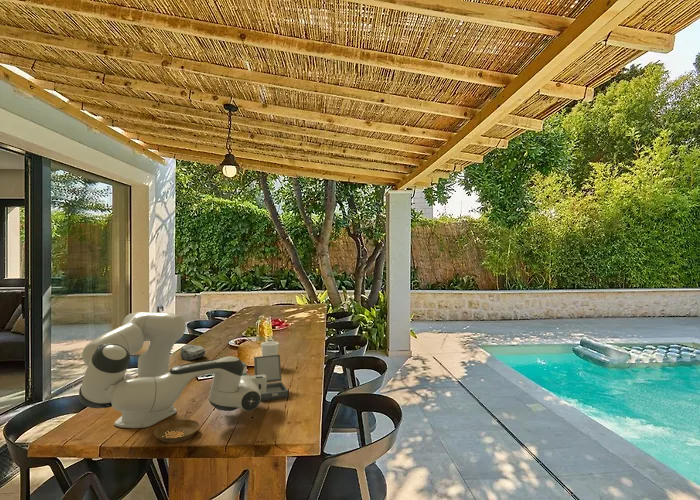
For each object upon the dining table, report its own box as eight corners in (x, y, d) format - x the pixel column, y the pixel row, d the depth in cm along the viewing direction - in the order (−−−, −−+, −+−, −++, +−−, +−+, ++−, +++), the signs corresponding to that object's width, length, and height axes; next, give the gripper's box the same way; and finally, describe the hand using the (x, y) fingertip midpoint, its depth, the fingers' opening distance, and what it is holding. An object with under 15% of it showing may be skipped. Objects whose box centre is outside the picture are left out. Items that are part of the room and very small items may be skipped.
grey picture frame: (279, 354, 193) (279, 354, 194) (254, 357, 188) (254, 357, 189) (281, 380, 190) (281, 380, 191) (255, 384, 185) (255, 384, 186)
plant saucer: (198, 442, 137) (198, 435, 137) (149, 448, 133) (149, 440, 133) (201, 424, 151) (201, 417, 151) (157, 429, 147) (157, 421, 147)
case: (288, 398, 178) (288, 377, 178) (260, 401, 174) (261, 380, 174) (278, 384, 195) (278, 366, 195) (253, 388, 191) (253, 368, 191)
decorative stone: (205, 355, 237) (199, 338, 238) (181, 365, 234) (175, 348, 234) (208, 353, 251) (202, 338, 252) (185, 363, 247) (179, 347, 248)
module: (246, 395, 172) (246, 364, 172) (234, 396, 170) (234, 365, 170) (244, 391, 177) (244, 361, 177) (232, 393, 175) (232, 362, 175)
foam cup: (266, 370, 218) (266, 346, 218) (257, 366, 225) (257, 343, 225) (281, 367, 225) (282, 343, 225) (272, 363, 232) (273, 340, 232)
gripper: (216, 399, 158) (213, 388, 170) (269, 392, 166) (263, 382, 178) (216, 382, 158) (213, 373, 171) (269, 376, 166) (263, 367, 178)
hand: (239, 377), depth 175 cm, fingers closed on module, 5 cm apart
